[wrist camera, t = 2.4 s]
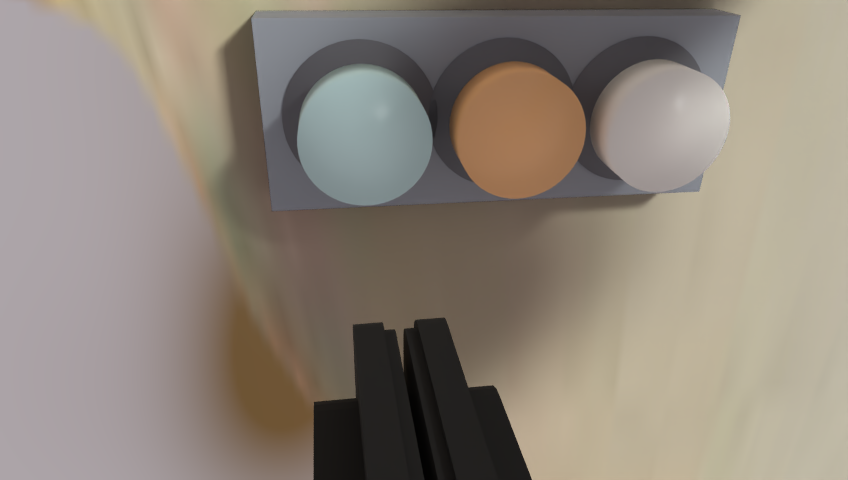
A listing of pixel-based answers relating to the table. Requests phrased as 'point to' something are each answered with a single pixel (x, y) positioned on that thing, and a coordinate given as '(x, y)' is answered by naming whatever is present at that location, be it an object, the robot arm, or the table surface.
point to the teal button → (363, 135)
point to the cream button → (659, 124)
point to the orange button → (517, 129)
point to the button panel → (468, 78)
